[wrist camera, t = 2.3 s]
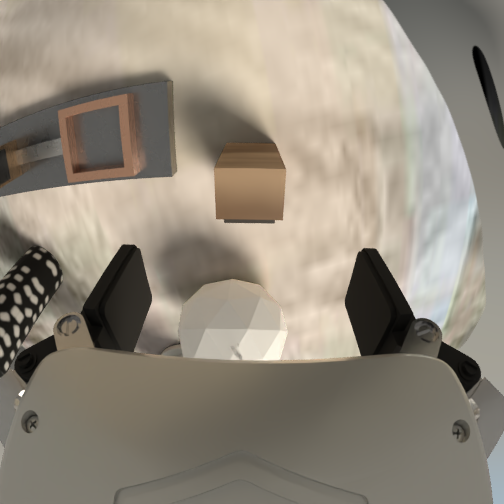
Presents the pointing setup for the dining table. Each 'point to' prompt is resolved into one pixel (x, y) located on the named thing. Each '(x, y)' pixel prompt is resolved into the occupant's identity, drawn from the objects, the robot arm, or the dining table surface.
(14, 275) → the white-spotted black cylinder
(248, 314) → the geodesic sphere
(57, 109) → the rail
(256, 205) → the gripped brown wooden block
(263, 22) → the dining table surface
